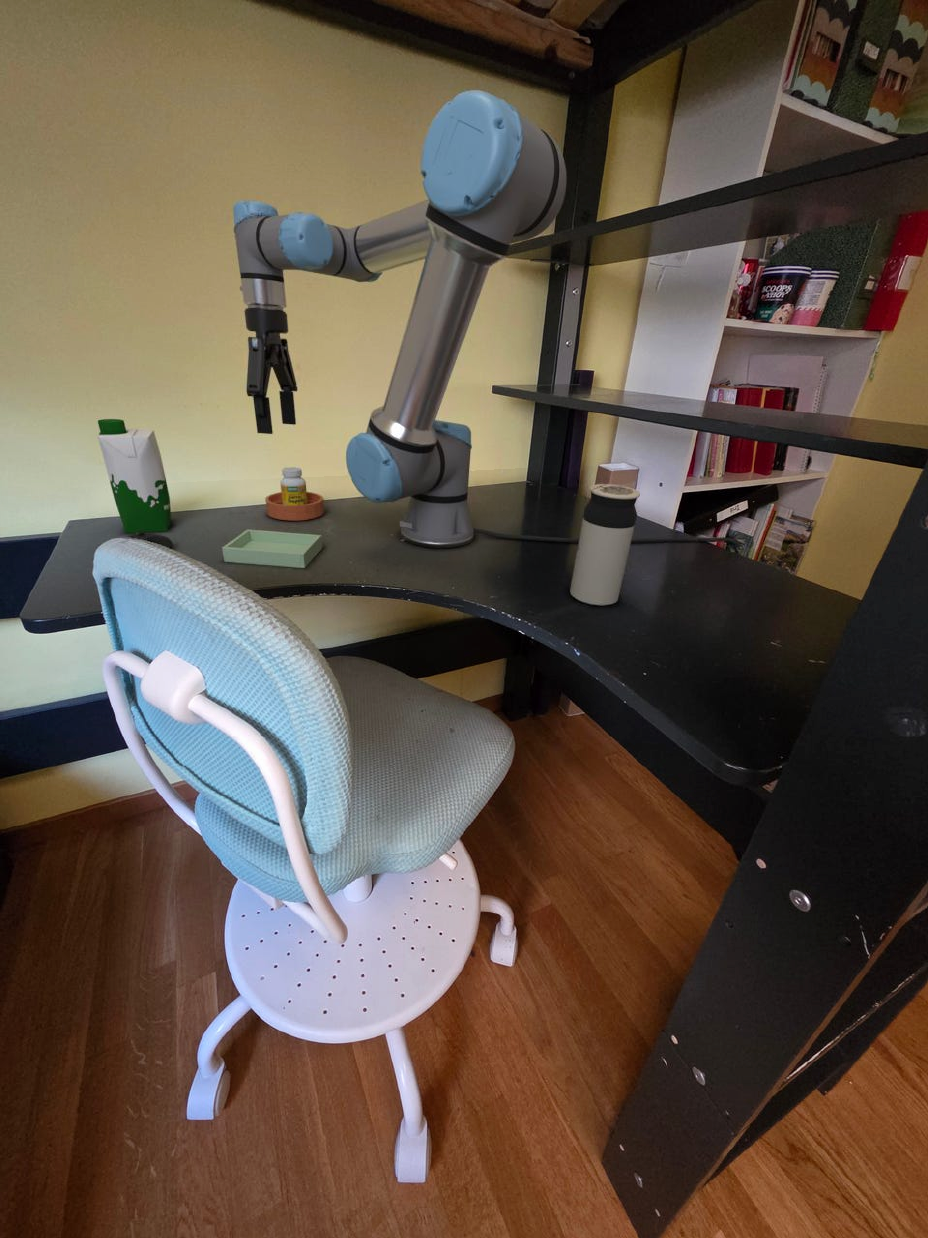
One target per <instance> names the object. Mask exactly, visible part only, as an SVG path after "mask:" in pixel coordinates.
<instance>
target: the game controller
mask: <svg viewBox="0 0 928 1238" xmlns="http://www.w3.org/2000/svg"><path fill="white" fill-rule="evenodd" d="M126 537H131V538H137V539H143V540H147V541H150V542H154V543H157V544H161V545H163V546H166V547H169V548H170V549H172V548H173V544H174V543H173V541H172V540H171V538H169V537H168V536H165V535H161V534H155V533H145V532H138V533H130V534H129V535H128V536H126Z"/></svg>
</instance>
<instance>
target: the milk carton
mask: <svg viewBox="0 0 928 1238" xmlns="http://www.w3.org/2000/svg"><path fill="white" fill-rule="evenodd" d="M97 424H98V430H99V432H98V436H97V439H98V442H99V446H100V450H101V453H102V456H103V459H104V460H103V461H104V465H105V468H106V472H107V476H108V480H109V484H110V487H111V491H112V494H113V499H114V503H115V505H116V509H117V512H118V515H119V518H120V520H121V524H122V526H123V530H124V532H125V534H135V533H138V532H144V533H157V532H158V533H159V532H161V533H162V532H168V531H169V527H170V524H171V521H172V516H171V515H172V511H171V497H170V492H169V488H168V482H167V478H166V473H165V469H164V464H163V458H162V455H161V451H160V447H159V444H158V441H157V437H156V434H155V430H154V429H138V428H129V429H127V427H126V424H125V420H124V419H119V418H103V419H98V420H97Z"/></svg>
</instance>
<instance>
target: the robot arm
mask: <svg viewBox="0 0 928 1238" xmlns="http://www.w3.org/2000/svg"><path fill="white" fill-rule="evenodd" d="M420 157H421V158H420V174H421V176H423V180H422V187H423V191H424V192H425V195H426V197H427V199H426V200H423V201H420V202H417V203H415V204H412V205H409V206H407V207H405V208H402V209H399V210H396V211H393V212H391V213H388V214H386V215H383V216H380V217H378V218H375V219H372V220H370V221H367V222H364V223H362V224H359V225H357V226H354V227H350V228H345V227H341V226H337V225H334V224H330V223H326V222H325V221H324V219H322V218H321V217H320V216H319V215H317V214H315V213H311V212H301V211H295V212H294V213H287V214H282V215H281V214H280V215H279V212H278V210H277V208H276V207H275V206H273V205H271V204H269V203H266V202H262V201H256V200H238V201H236V202H235V203H234V204H233V207H232V213H233V215H232V216H233V234H234V240H235V245H236V253H237V260H238V269H239V274H240V275H239V276H240V283H241V284H240V285H239V290H240V292H242V302H243V304H244V305H246V306H247V307H246V308H244V320H245V328H246V330H247V331H249V332H255V336H248V337H247V343H248V344H247V345H248V357H247V358H248V359H247V374H246V388H245V389H246V396H247V397H252V399H253V407H254V417H255V423H256V424H255V425H256V433H257V434H264V435H266V434H267V435H273V434H274V432H273V422H272V413H271V404H270V397H268V396H267V395H268V390H269V389H268V388H269V383H270V377H271V371H272V370H273V373H274V375H275V377H276V380H277V382H278V385H279V388H280V390H279V401H280V412H281V423H282V424H283V425H294V426H295V425H296V424H297V420H296V410H295V409H296V408H295V398H294V396H295V395H294V392H298V386H297V381H296V376H295V373H294V368H293V363H292V360H291V355H290V351H289V345H288V344H289V343H288V339H287V338H281V334H282V335H283V334H285V335H286V334H288V333H289V322H288V313H287V311H284V309H286V308H287V307H288V305H287V296H286V295H287V294H286V285H285V278H284V271H303V272H307V273H314V274H318V275H319V274H320V275H325V276H331V277H335V278H336V277H337V278H342V279H346V280H351V281H355V282H358V283H373V282H375V281H377V280H379V278H380V276H381V275H383V272H388V271H390V270H395V269H397V268H401V267H405V266H408V265H412V264H415V263H419V262H422V261H423V262H424V263H423V266H422V270H421V273H420V277H419V280H418V284H417V286H416V291H415V294H414V297H413V301H412V304H411V308H410V311H409V315H408V318H407V321H406V322H407V323H406V325H405V329H404V332H403V336H402V340H401V343H400V347H399V350H398V354H397V357H396V361H395V364H394V368H393V372H392V374H391V377H390V381H389V385H388V388H387V392H386V396H385V400H384V403H383V405H381V406H379V407H377V408H375V409H373V410H372V411H371V413H370V417H369V419H368V424H367V428H366V431H365V432H359V433H357V434H356V435H354V436H353V437H352V438H351V439H350V440H349V442H348V444H347V446H346V451H345V462H346V468H347V471H348V474H349V476H350V479H351V482H352V484H353V486H354V487H355V489H356V490H357V492H359V494H361V496H363V497H364V498H365V499H367V500H368V501H370V502H373V503H375V504H376V503H377V504H384V503H389V502H390V503H393V502H397V501H399V500H402V499H405V498H409V502H408V505H407V508H406V511H405V513H404V516H403V519H402V520H399V527H401V528H400V536H401V538H402V539H403V540H404V541H405V542H408V543H409V544H412V545H415V546H419V547H423V548H428V549H429V548H431V549H455V548H460V547H464V546H466V545H469V544H471V543H472V542H473V540H474V535H475V534H479V535H484V536H489V537H493V538H498V539H504V540H505V539H506V540H520V541H538V542H553V543H571V544H572V543H573V544H578V543H579V538H575V537H573V538H572V537H556V536H555V537H554V536H540V535H522V534H507V533H506V534H505V533H499V532H494V531H489V530H485V529H481V528H476V527H474V524H473V520H472V516H471V513H470V512H471V511H470V508H469V504H468V494H469V482H470V481H469V480H470V467H471V465H470V464H471V451H472V448H473V446H472V431H471V429H470V427H469V426H468V425H466V424H463V423H457V422H451V421H445V420H438V419H436V418H437V416H438V414H439V410H440V407H441V404H442V403H443V399H444V396H445V393H446V390H447V388H448V384H449V382H450V379H451V377H452V373H453V370H454V368H455V366H456V363H457V360H458V357H459V355H460V351H461V349H462V345H463V343H464V340H465V337H466V335H467V333H468V328H469V326H470V323H471V321H472V318H473V315H474V313H475V309H476V307H477V304H478V301H479V299H480V296H481V293H482V290H483V287H484V285H485V281H486V279H487V276H488V273H489V272H490V271H489V270H490V268H491V267H492V266H493V265H495V264H497V263H499V262H500V261H502V260H504V259H505V258H506V256H507V253H508V252H509V249H510V246H511V245H513V244H517V243H520V242H524V241H528V240H531V239H533V238H535V237H537V236H539V235H541V234H542V233H543V232H545V231H546V230H547V229H548V228H549V227H550V226H551V224H553V222H554V221H555V219H556V218H557V216H558V214H559V213H560V211H561V208H562V205H563V203H564V200H565V196H566V190H567V182H568V181H567V179H568V178H567V168H566V163H565V158H564V156H563V153H562V151H561V149H560V147H559V145H558V143H557V142H556V141H555V140H554V138H553V137H552V136H551V135H549V134H548V132H546V131H544V130H543V129H542V128H539V127H538V126H537V125H536V124H535V123H533V121H530V120H529V119H528V118H527V117H526V116H525V115H523V114H522V113H521V112H520V111H518V110H517V109H516V108H515V107H514V106H513V105H511V104H510V103H508V102H507V101H506V100H504V98H503V99H502V98H499V97H497V96H495V95H493V94H491V93H489V92H488V91H484V90H480V89H471V90H466V91H463V92H461V93H458V94H457V95H456V96H455V97H454V98H453V99H452V100H449V101H447V102H446V103H445V104H444V105H443V106H442V107H441V108H440V109H439V110H438V112H437V114H436V115H435V117H434V118H433V120H432V121H431V124H430V126H429V128H428V130H427V132H426V135H425V139H424V142H423V146H422V151H421V156H420ZM692 537H693V538H696V539H699V540H702V541H705V542H704V543H720V542H723V543H724V542H726V543H731V544H733V546H735V547H736V548H741V547H742V546H741V544H740V542H738V541H737V540H735V539H734V538H732V537H726V536H725V537H701V536H700V537H698V536H692ZM691 540H693V541H691ZM671 542H672V543H673V542H675V543H677V542H682V543H683V542H696V541H695V540H694V539H691V538H690V540H688V538H687V539H684V538H680V539H636V540H631V544H635V543H636V544H637V543H639V544H640V543H671ZM699 542H701V541H699Z"/></svg>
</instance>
